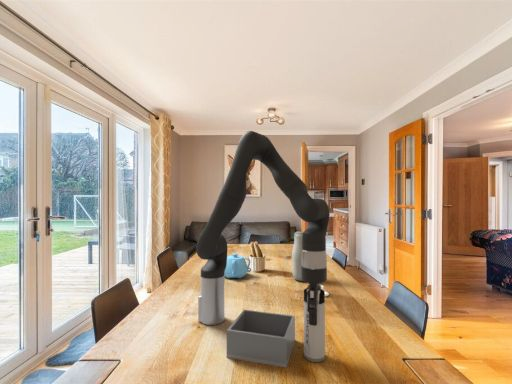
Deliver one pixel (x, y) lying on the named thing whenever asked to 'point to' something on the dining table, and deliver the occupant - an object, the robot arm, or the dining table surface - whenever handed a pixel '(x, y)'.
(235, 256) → the decorative pot
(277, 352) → the crate
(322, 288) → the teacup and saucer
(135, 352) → the dining table surface
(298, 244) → the grey bottle
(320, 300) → the travel mug
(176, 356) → the dining table surface
